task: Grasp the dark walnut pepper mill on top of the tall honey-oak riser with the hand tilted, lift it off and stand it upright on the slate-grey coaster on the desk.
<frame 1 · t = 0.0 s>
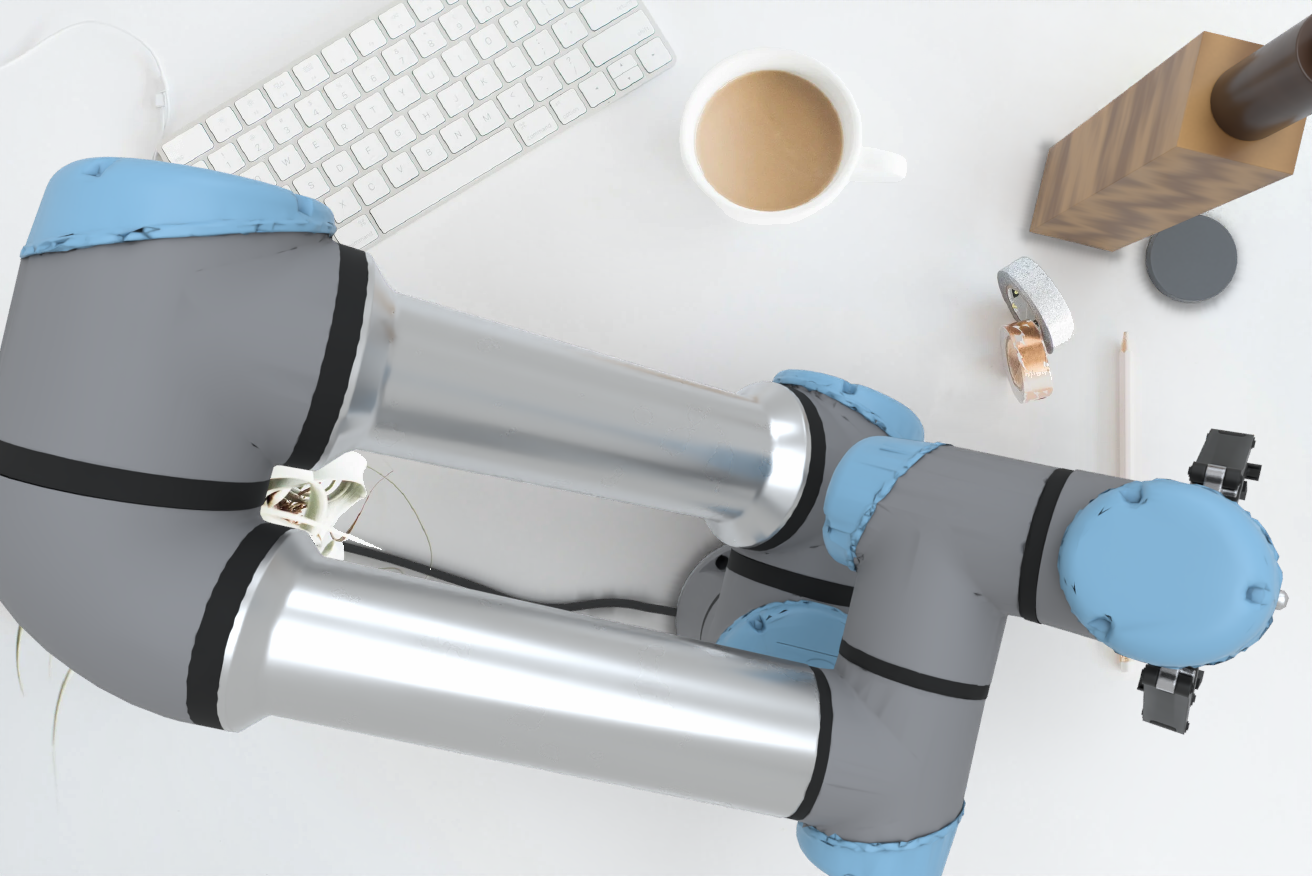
hand: (1203, 580, 62), 15 cm above the table, tool tilted 35°, fingers open, 13 cm apart
pepper mill: (1248, 102, 55), point 22 cm above the table, touching riser
riser: (1080, 200, 77), on the table
coaster: (1188, 259, 77), on the table
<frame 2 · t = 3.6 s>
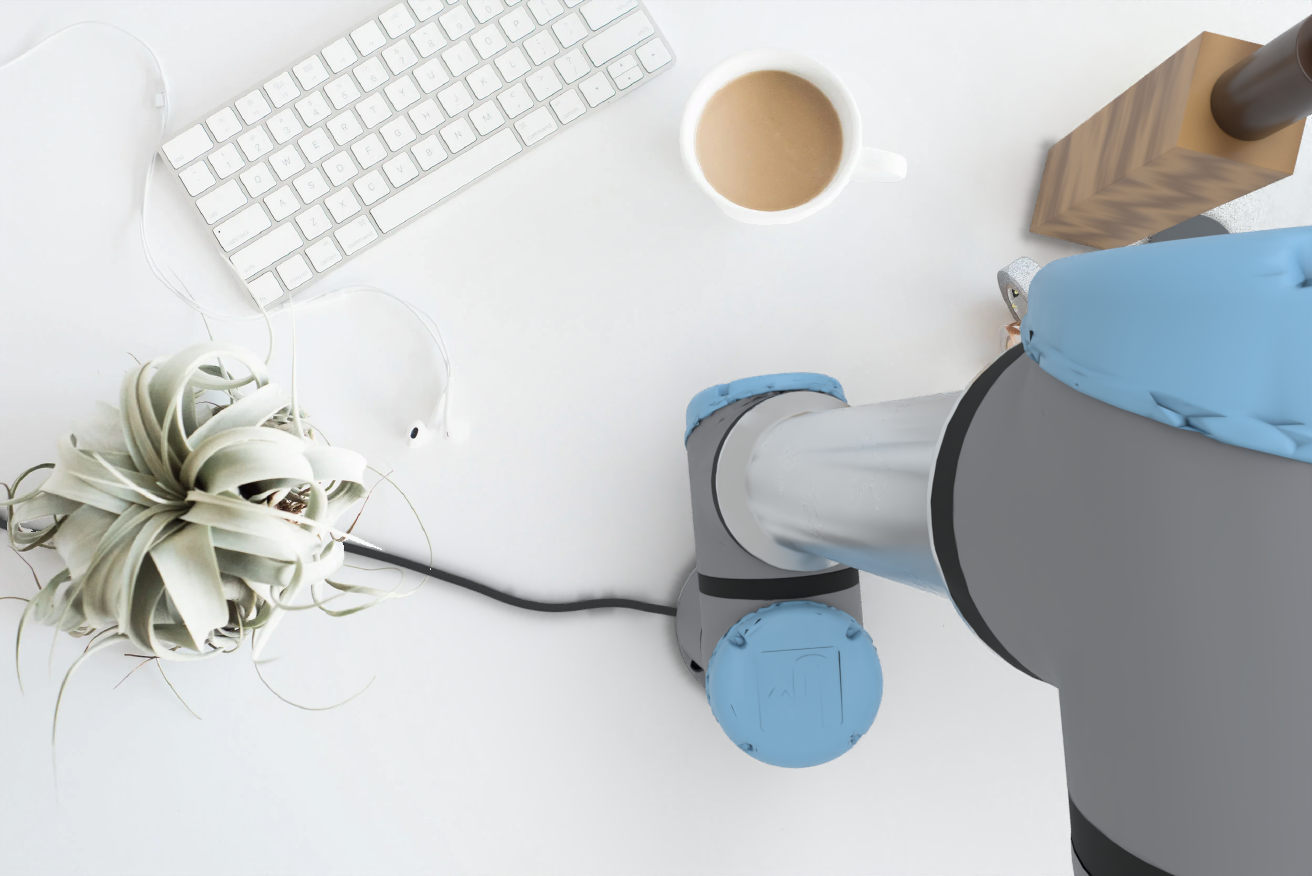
nothing on the table moved.
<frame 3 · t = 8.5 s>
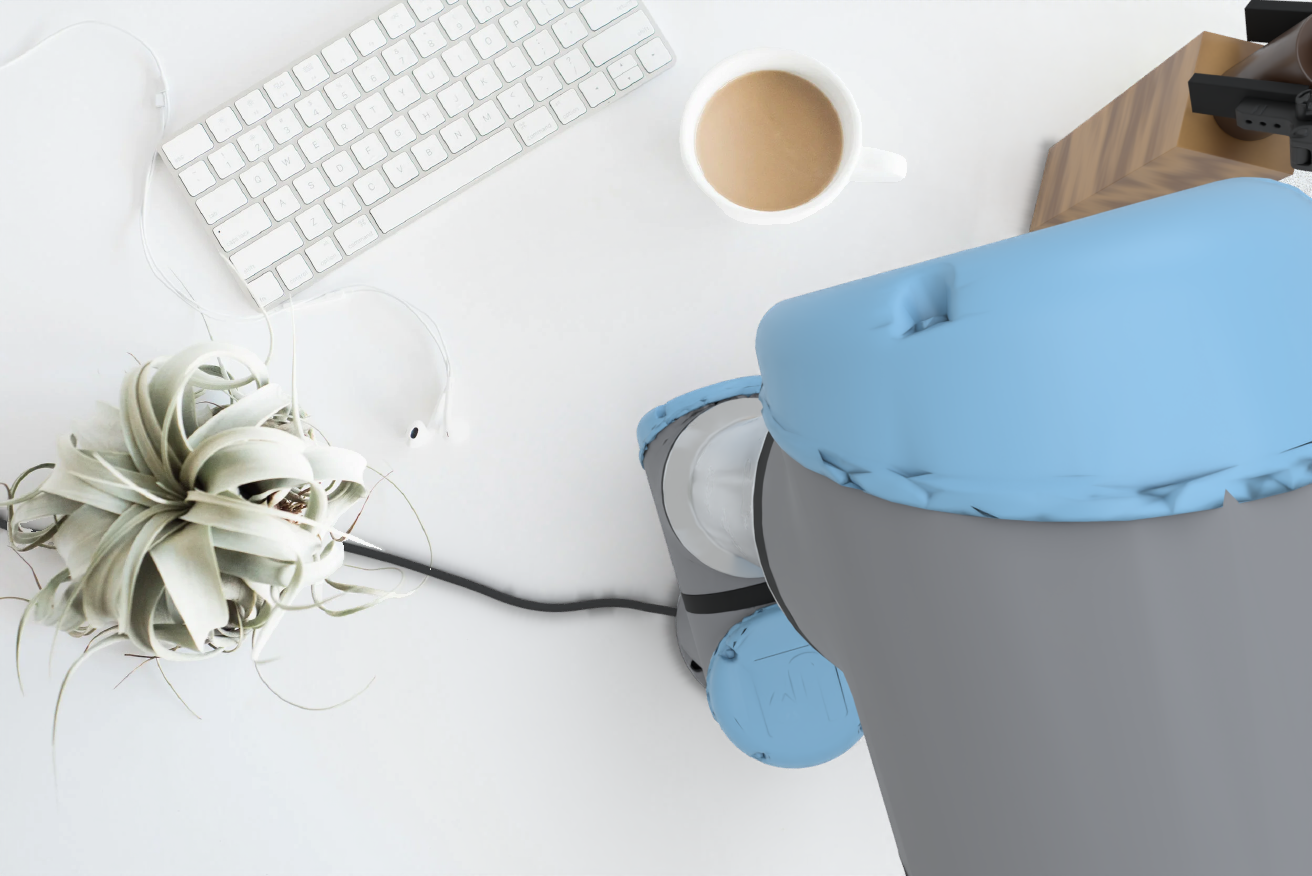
hand: (1222, 56, 54), 24 cm above the table, tool tilted 45°, fingers closed on pepper mill, 5 cm apart
pepper mill: (1248, 102, 55), point 22 cm above the table, touching gripper, riser
everything else where it was.
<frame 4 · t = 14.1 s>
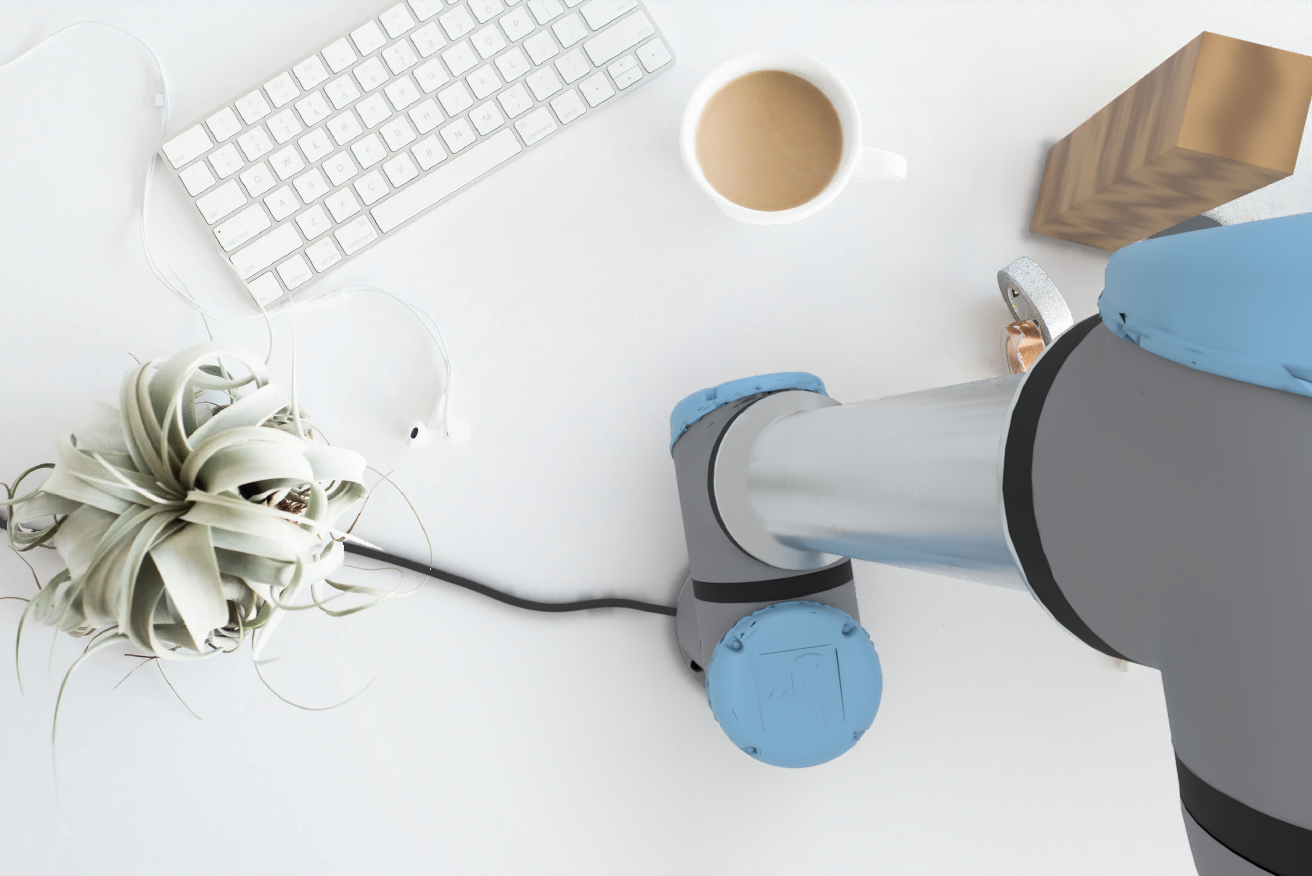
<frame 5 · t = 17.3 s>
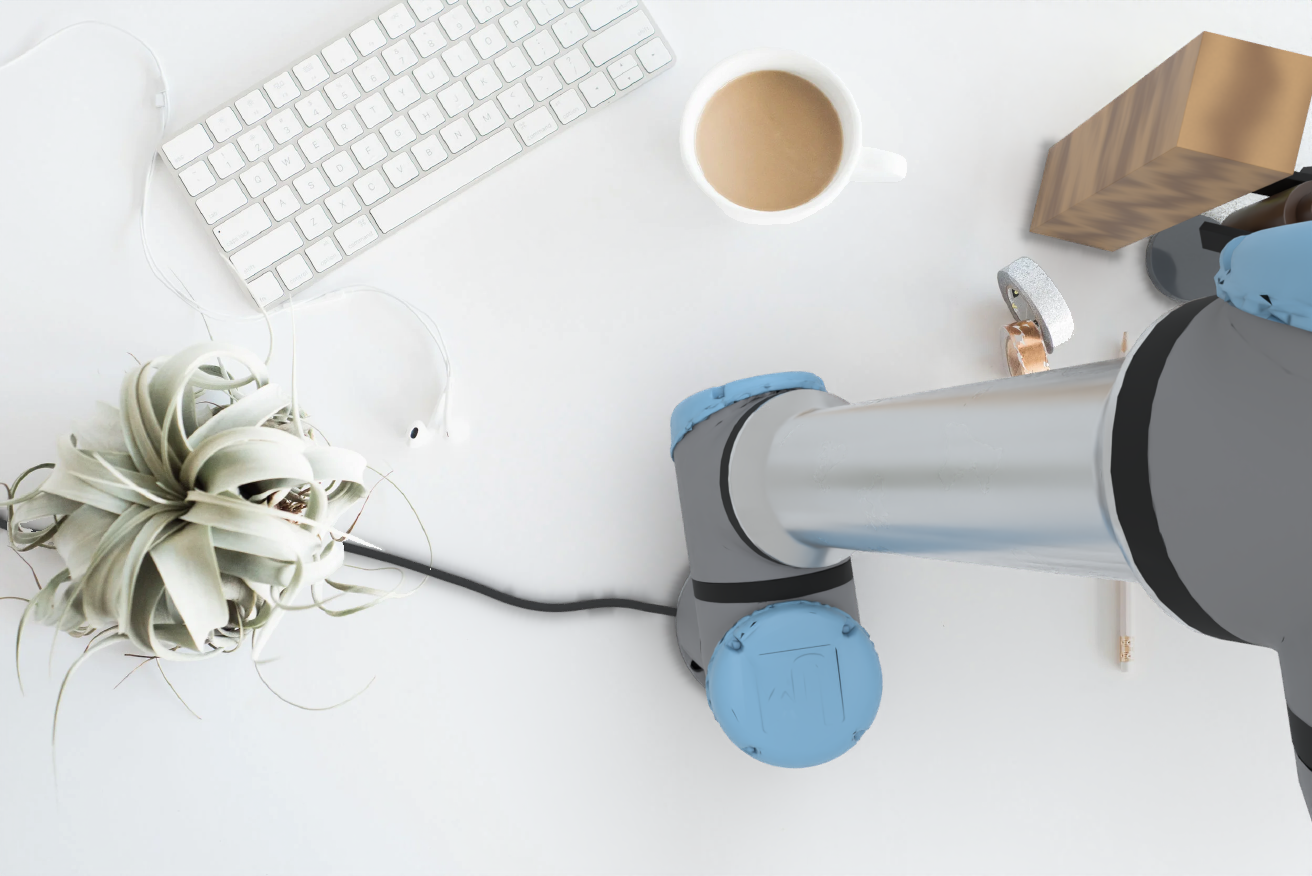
hand: (1226, 206, 68), 9 cm above the table, tool tilted 45°, fingers closed on pepper mill, 5 cm apart
pepper mill: (1247, 239, 70), point 8 cm above the table, touching gripper
everything else where it was.
when the fingers open (2 cm above the table, at t = 19.8 s): pepper mill stays where it is, resting on coaster.
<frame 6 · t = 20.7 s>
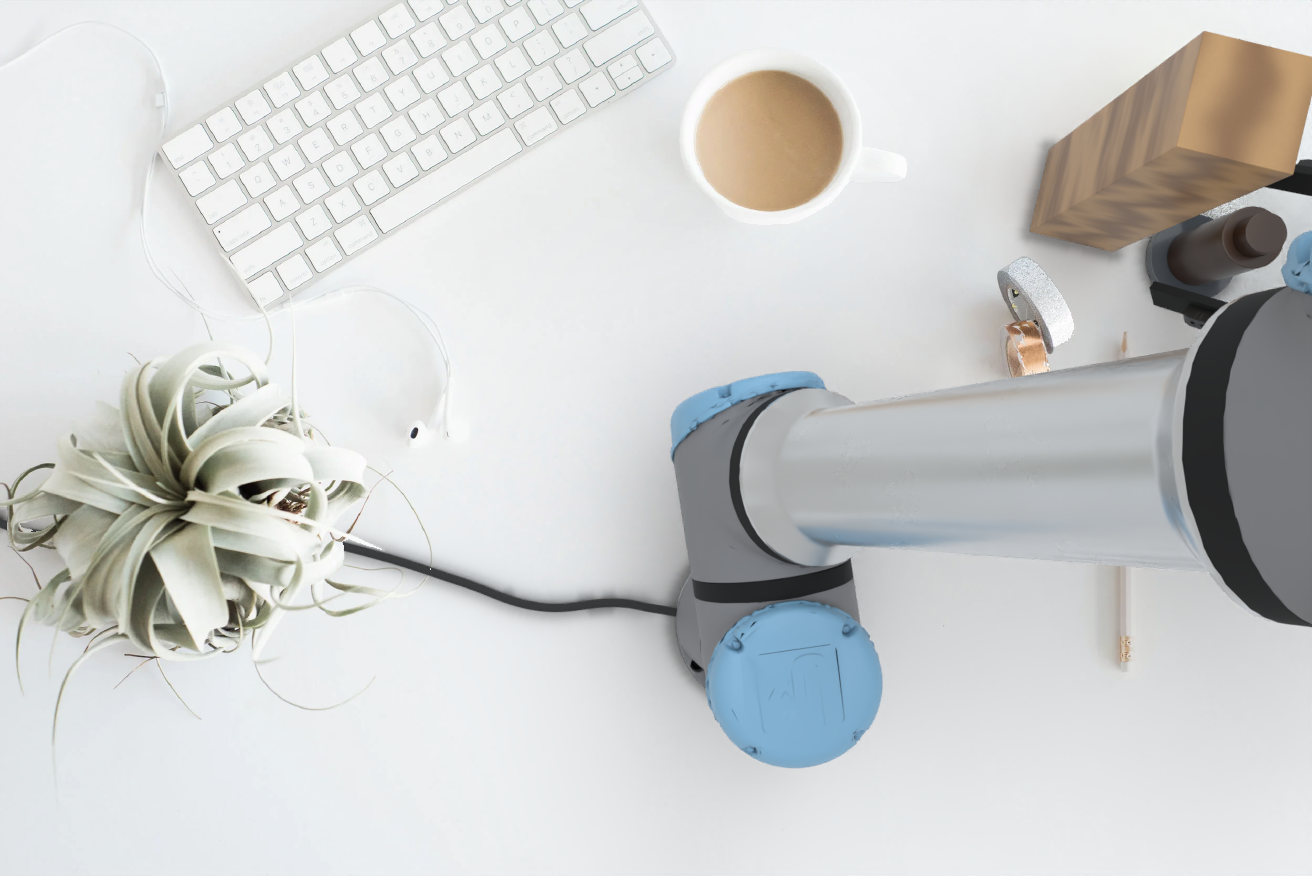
hand: (1200, 231, 73), 5 cm above the table, tool tilted 45°, fingers open, 13 cm apart
pepper mill: (1195, 257, 76), point 1 cm above the table, touching coaster
everything else where it was.
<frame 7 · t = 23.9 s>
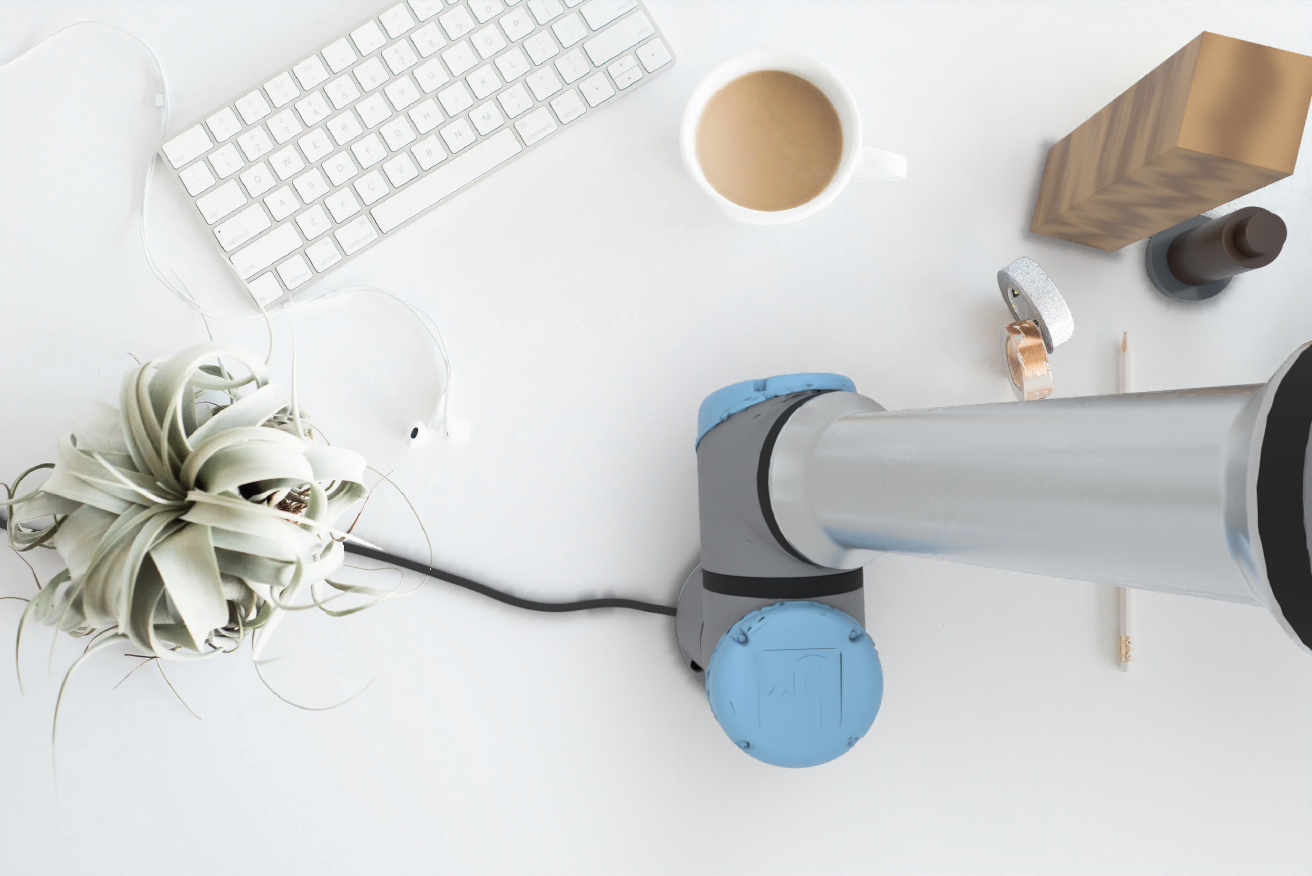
nothing on the table moved.
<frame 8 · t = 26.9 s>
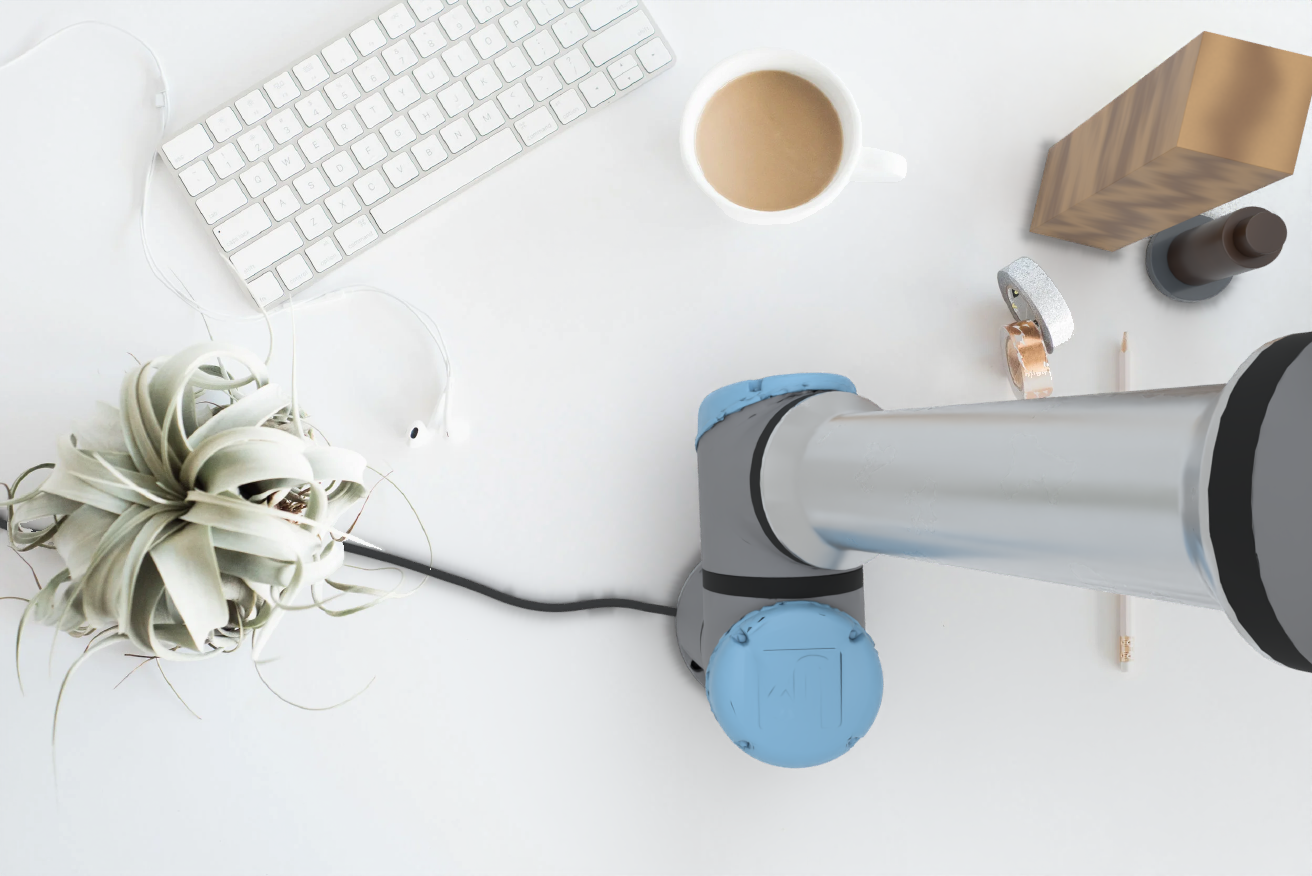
nothing on the table moved.
at the end: pepper mill 0.1 cm off-centre on the coaster, point 0.8 cm above the coaster's base; pepper mill tilted 0°; the gripper is holding nothing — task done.
